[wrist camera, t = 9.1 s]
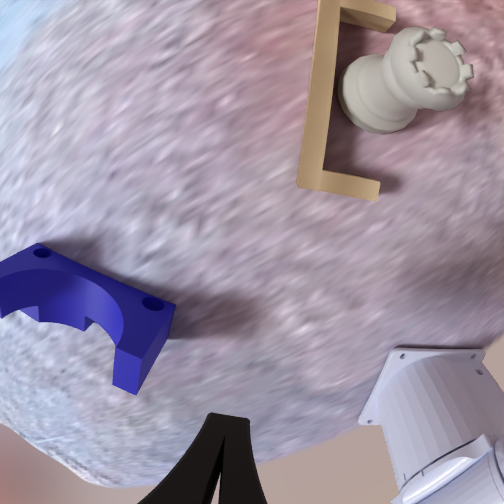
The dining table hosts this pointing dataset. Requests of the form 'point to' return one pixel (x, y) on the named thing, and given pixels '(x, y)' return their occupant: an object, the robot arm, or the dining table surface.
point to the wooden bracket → (320, 95)
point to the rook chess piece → (404, 80)
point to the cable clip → (88, 307)
